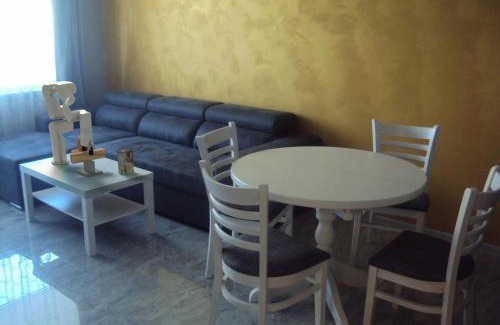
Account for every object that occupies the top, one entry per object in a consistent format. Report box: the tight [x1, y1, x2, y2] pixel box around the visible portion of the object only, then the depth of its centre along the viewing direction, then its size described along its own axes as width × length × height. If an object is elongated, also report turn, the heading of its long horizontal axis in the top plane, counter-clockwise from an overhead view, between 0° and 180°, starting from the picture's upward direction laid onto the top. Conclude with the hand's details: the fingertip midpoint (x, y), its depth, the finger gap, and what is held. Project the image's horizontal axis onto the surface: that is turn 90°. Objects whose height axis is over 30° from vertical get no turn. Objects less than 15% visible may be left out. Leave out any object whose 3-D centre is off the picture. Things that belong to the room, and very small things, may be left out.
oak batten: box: [69, 147, 106, 165], centre depth 333 cm, size 4×24×6 cm, turn 136°
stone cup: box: [70, 135, 89, 154], centre depth 381 cm, size 15×12×15 cm
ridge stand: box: [75, 160, 104, 178], centre depth 335 cm, size 16×12×10 cm
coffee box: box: [116, 148, 135, 176], centre depth 336 cm, size 9×6×16 cm
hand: (87, 153), depth 332 cm, fingers open, 9 cm apart
